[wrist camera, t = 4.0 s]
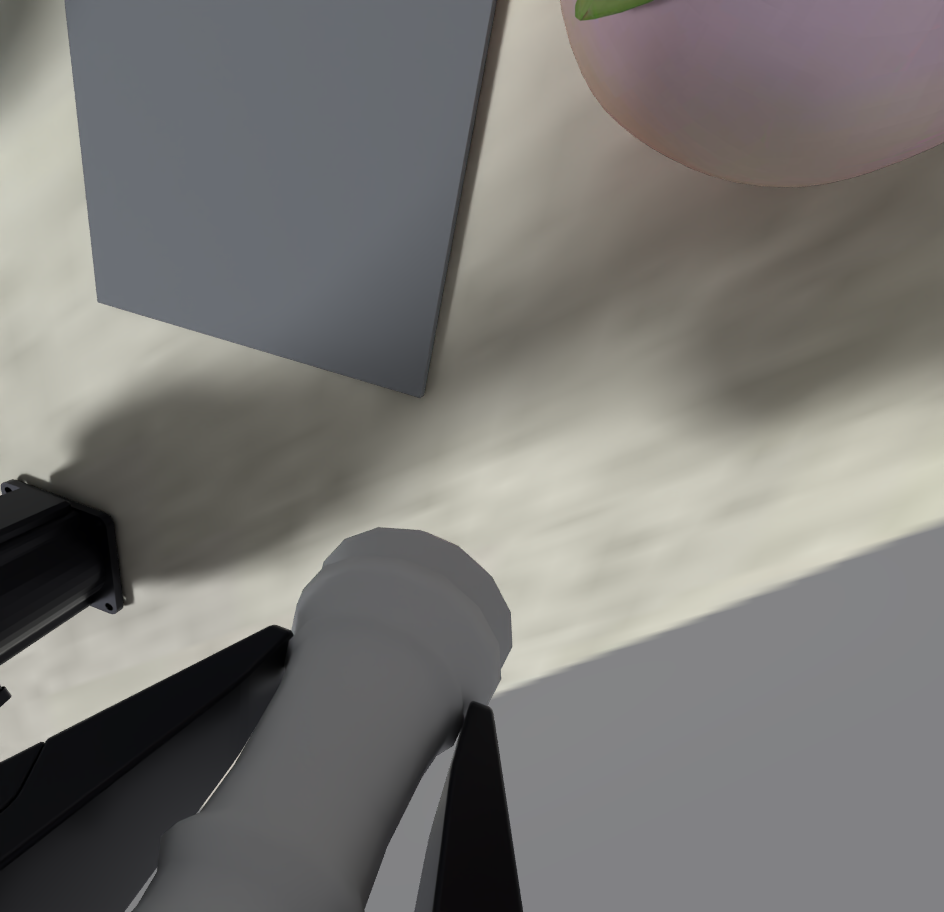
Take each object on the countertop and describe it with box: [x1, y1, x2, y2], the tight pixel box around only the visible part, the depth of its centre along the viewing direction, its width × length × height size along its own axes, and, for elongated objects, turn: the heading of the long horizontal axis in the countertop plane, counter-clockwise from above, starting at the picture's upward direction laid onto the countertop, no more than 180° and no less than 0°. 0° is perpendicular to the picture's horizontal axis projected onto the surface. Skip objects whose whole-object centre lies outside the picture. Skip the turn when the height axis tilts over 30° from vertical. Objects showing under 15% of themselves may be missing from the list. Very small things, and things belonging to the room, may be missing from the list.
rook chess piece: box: [132, 527, 512, 912], centre depth 7 cm, size 4×4×8 cm
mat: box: [65, 0, 497, 398], centre depth 15 cm, size 16×14×1 cm
